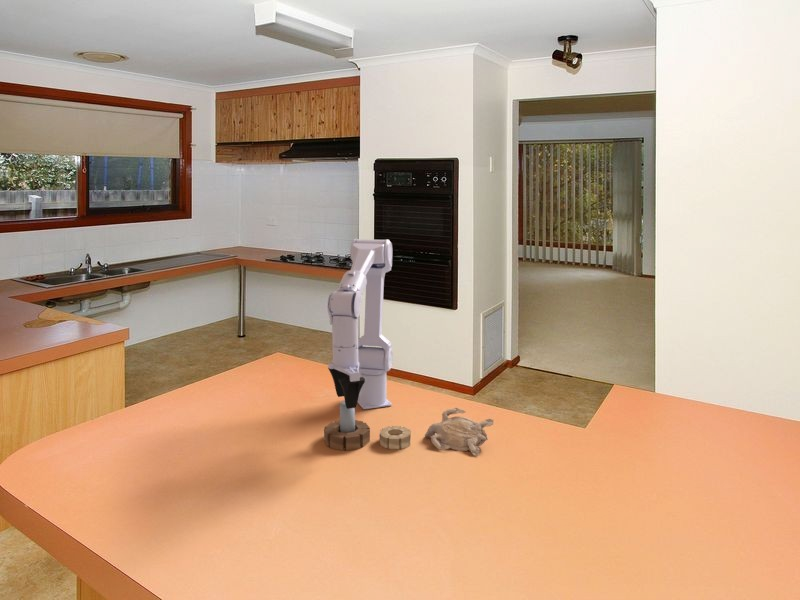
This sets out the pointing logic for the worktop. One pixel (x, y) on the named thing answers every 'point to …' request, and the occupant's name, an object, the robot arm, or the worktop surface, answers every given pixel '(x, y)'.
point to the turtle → (458, 432)
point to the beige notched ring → (395, 437)
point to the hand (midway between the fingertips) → (346, 401)
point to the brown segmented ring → (346, 436)
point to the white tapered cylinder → (347, 419)
